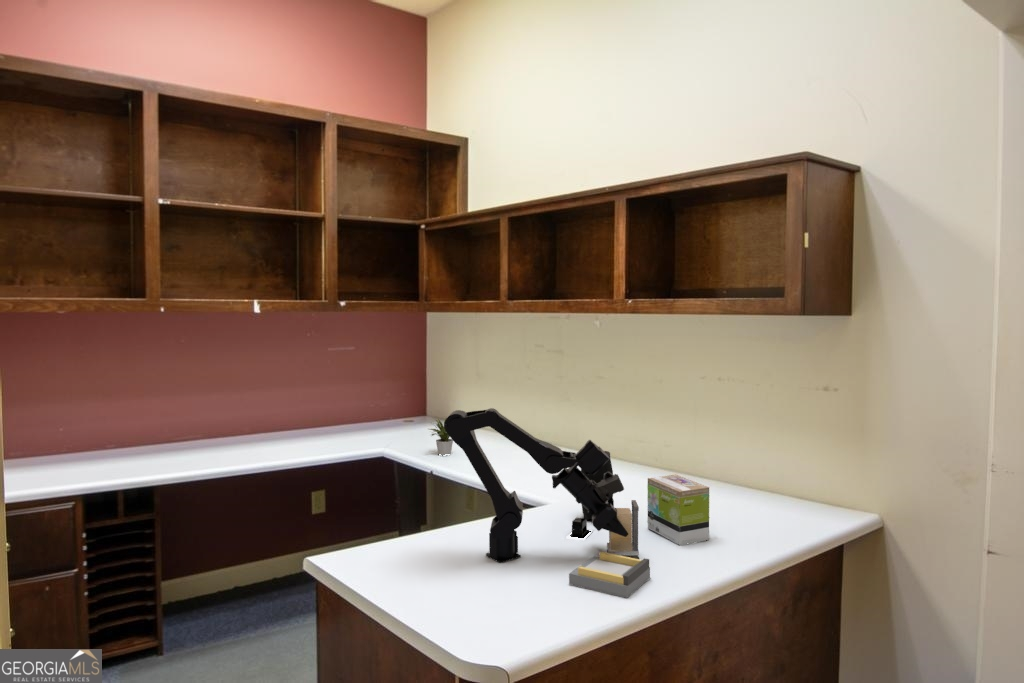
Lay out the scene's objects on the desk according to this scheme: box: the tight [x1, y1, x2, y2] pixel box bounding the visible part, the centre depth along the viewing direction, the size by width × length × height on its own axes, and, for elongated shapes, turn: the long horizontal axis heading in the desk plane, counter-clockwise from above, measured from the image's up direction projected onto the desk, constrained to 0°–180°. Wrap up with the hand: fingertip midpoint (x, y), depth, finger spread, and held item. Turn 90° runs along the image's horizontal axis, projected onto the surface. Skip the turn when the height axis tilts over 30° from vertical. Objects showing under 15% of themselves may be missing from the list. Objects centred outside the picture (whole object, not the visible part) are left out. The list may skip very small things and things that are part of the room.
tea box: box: [647, 474, 710, 546], centre depth 190 cm, size 15×10×15 cm, turn 23°
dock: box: [568, 551, 651, 599], centre depth 159 cm, size 14×13×4 cm
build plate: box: [570, 517, 591, 538], centre depth 192 cm, size 12×7×5 cm, turn 156°
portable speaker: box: [580, 450, 614, 522], centre depth 205 cm, size 9×9×20 cm
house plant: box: [428, 417, 454, 455], centre depth 295 cm, size 14×14×16 cm
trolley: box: [606, 499, 640, 559], centre depth 173 cm, size 7×6×14 cm
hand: (625, 531), depth 173 cm, fingers closed on trolley, 5 cm apart
